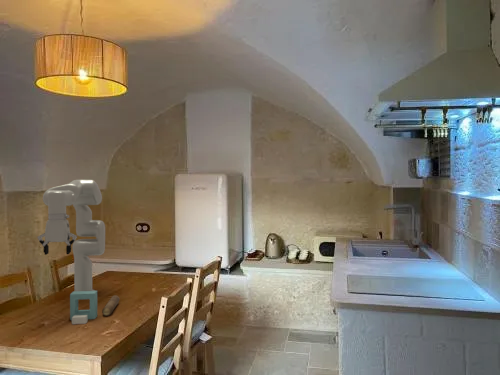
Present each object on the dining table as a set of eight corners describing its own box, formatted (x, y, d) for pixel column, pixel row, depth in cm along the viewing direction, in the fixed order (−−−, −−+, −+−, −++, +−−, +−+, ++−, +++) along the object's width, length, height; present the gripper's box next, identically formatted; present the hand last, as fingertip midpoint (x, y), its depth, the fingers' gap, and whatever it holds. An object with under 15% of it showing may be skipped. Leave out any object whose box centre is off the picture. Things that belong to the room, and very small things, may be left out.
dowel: (110, 303, 212) (111, 295, 212) (119, 303, 213) (119, 295, 213) (101, 317, 190) (101, 308, 190) (110, 317, 191) (110, 308, 191)
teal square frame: (73, 316, 191) (73, 291, 191) (97, 315, 193) (97, 290, 193) (70, 320, 186) (70, 294, 186) (94, 319, 188) (94, 293, 188)
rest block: (73, 322, 184) (73, 315, 184) (87, 321, 185) (87, 314, 185) (71, 324, 181) (71, 317, 181) (85, 323, 182) (85, 317, 182)
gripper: (79, 216, 192) (79, 252, 192) (40, 217, 190) (41, 253, 190) (74, 217, 184) (74, 255, 184) (34, 218, 182) (34, 255, 182)
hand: (57, 254), depth 187 cm, fingers open, 9 cm apart
